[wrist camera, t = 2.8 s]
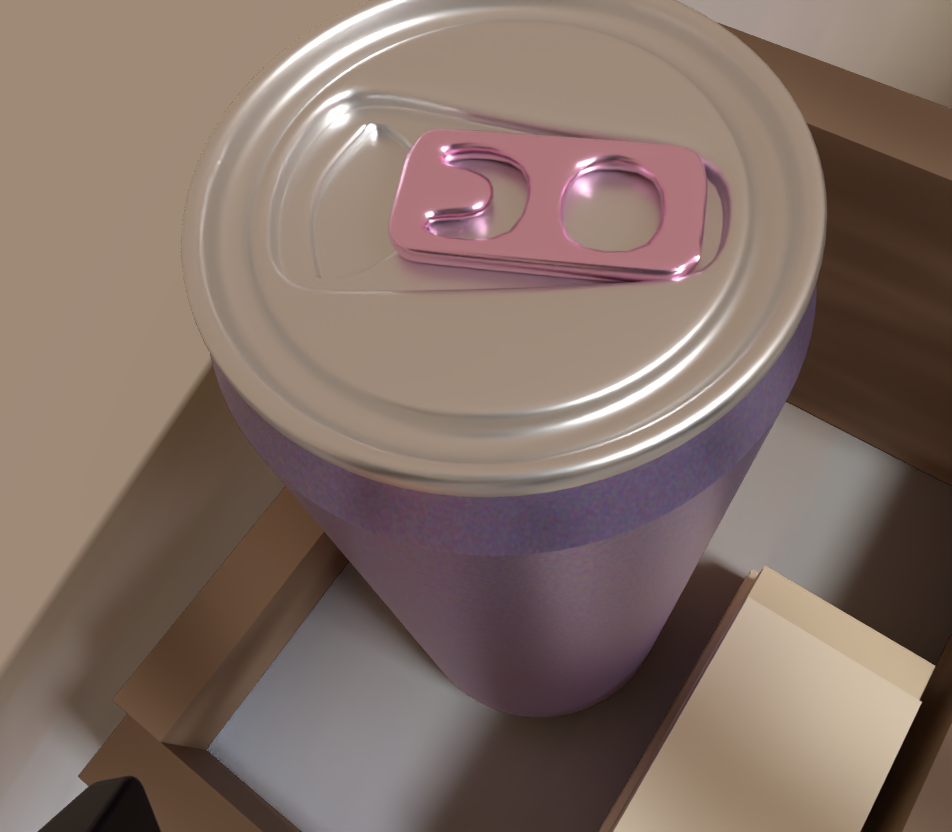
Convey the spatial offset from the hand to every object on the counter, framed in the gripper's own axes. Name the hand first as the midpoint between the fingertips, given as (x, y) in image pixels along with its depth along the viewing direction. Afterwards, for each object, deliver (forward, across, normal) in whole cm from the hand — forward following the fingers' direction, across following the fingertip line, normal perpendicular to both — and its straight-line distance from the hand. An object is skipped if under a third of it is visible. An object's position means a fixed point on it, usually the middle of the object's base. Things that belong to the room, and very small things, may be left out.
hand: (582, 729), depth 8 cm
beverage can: (+11, 0, +6) cm, 13 cm away
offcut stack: (+8, -3, +9) cm, 12 cm away
